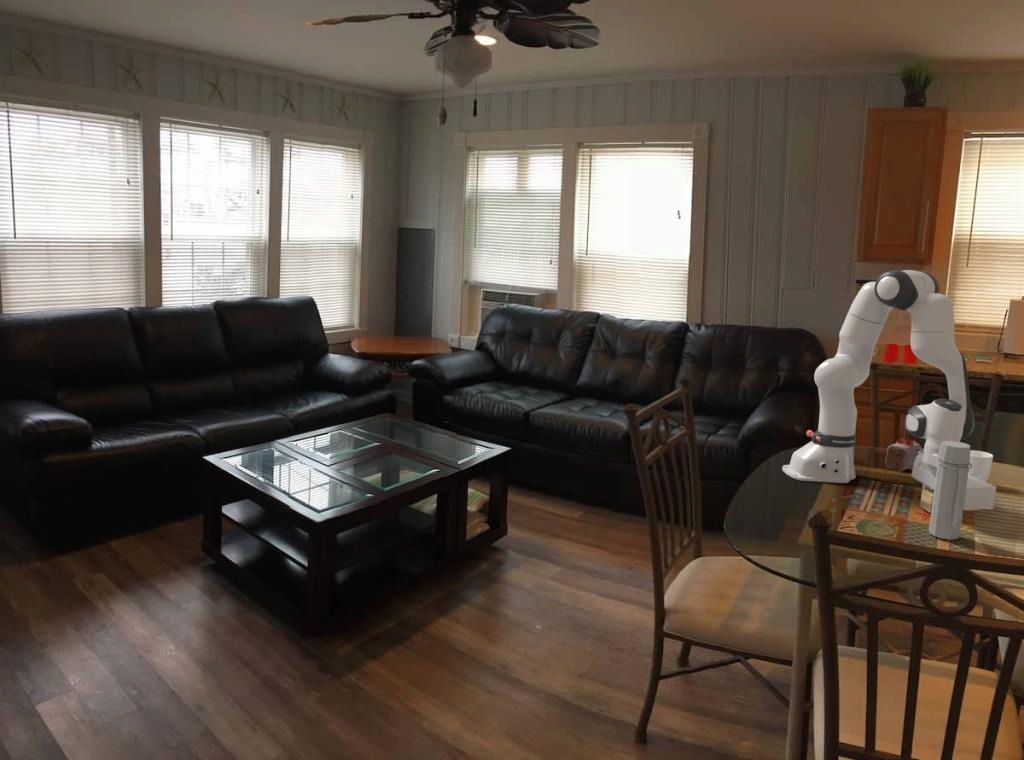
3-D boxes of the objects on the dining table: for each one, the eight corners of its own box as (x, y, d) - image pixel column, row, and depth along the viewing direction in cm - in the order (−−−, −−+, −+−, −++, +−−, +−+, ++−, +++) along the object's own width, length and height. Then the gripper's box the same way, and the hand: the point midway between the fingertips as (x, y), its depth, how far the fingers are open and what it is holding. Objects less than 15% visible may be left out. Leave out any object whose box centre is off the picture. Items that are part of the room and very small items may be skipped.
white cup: (992, 489, 247) (997, 458, 245) (965, 486, 248) (969, 456, 246) (983, 481, 254) (987, 451, 252) (956, 479, 256) (960, 449, 254)
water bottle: (922, 530, 211) (934, 439, 207) (953, 531, 211) (965, 441, 206) (937, 543, 202) (949, 449, 198) (969, 545, 202) (982, 450, 197)
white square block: (956, 511, 227) (959, 488, 225) (927, 497, 238) (930, 475, 237) (992, 509, 229) (996, 486, 228) (962, 495, 240) (965, 473, 239)
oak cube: (929, 512, 223) (932, 495, 222) (919, 506, 228) (922, 489, 227) (946, 512, 224) (949, 496, 223) (936, 506, 228) (938, 489, 227)
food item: (898, 460, 275) (902, 433, 274) (923, 466, 270) (926, 438, 268) (882, 468, 266) (885, 439, 264) (906, 473, 261) (910, 445, 259)
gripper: (909, 446, 233) (903, 491, 235) (951, 468, 213) (944, 517, 215) (930, 447, 233) (924, 491, 236) (974, 468, 213) (966, 517, 216)
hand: (934, 504), depth 225 cm, fingers closed on oak cube, 5 cm apart
